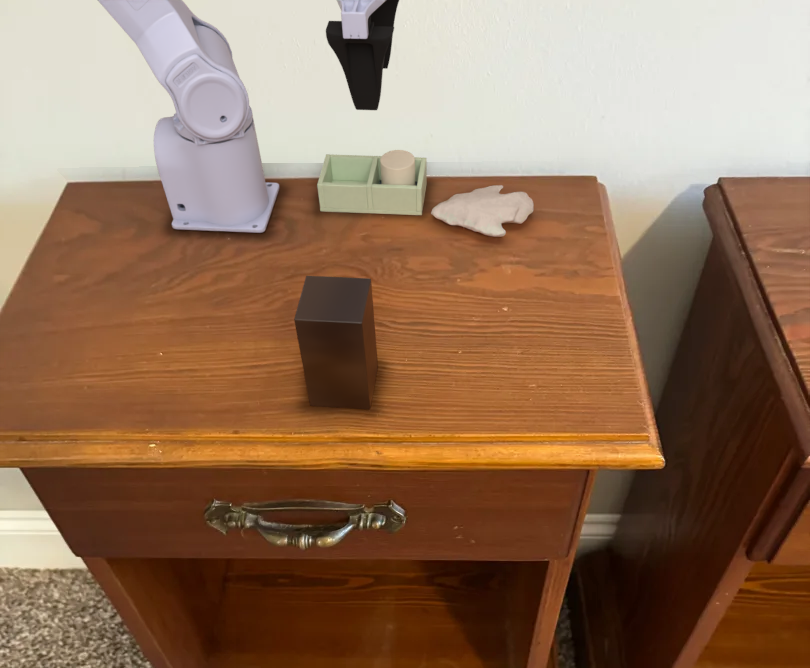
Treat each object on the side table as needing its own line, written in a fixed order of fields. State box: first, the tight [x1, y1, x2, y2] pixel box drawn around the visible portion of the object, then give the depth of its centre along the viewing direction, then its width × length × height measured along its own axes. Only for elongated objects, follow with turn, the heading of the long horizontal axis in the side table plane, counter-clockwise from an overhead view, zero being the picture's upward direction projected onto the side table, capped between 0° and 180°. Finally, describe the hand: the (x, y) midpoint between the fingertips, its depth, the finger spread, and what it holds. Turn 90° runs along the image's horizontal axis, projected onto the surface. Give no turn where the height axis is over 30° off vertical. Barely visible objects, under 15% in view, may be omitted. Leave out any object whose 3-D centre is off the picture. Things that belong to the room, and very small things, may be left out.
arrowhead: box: [430, 184, 534, 238], centre depth 76 cm, size 8×3×10 cm
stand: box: [293, 275, 379, 410], centre depth 61 cm, size 5×5×9 cm
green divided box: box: [316, 153, 428, 216], centre depth 78 cm, size 10×5×3 cm, turn 84°
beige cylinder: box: [380, 149, 416, 186], centre depth 77 cm, size 3×3×4 cm
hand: (372, 86), depth 73 cm, fingers open, 7 cm apart
